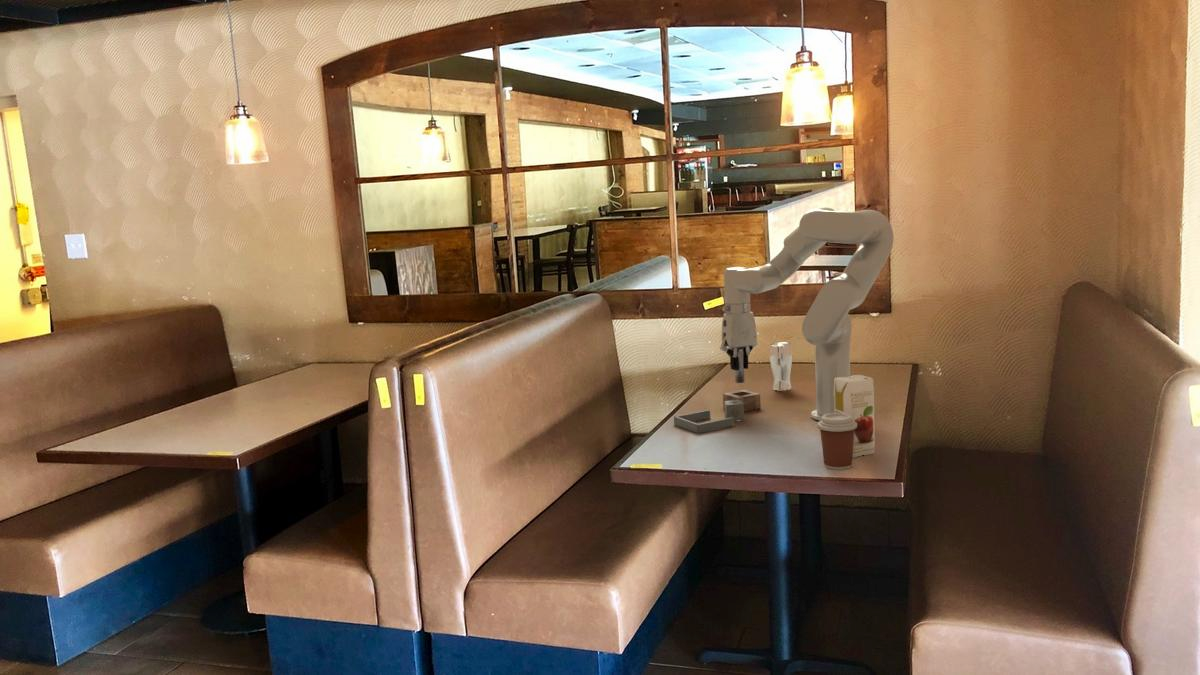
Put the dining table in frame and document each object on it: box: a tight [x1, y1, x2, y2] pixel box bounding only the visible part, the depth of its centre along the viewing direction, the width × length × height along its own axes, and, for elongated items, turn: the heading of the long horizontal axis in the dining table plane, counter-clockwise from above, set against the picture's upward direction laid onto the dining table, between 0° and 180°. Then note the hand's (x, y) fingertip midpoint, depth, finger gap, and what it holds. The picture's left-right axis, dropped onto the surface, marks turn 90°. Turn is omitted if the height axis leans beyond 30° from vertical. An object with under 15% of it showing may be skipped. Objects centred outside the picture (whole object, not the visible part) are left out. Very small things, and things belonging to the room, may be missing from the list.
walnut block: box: [722, 389, 762, 412], centre depth 278 cm, size 8×8×4 cm
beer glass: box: [769, 342, 793, 392], centre depth 298 cm, size 7×7×15 cm
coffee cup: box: [816, 413, 857, 471], centre depth 216 cm, size 9×9×12 cm
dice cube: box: [724, 400, 745, 422], centre depth 265 cm, size 5×5×5 cm
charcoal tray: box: [673, 409, 735, 434], centre depth 261 cm, size 12×12×2 cm
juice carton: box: [834, 374, 876, 459], centre depth 224 cm, size 8×9×19 cm
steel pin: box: [734, 347, 746, 384], centre depth 276 cm, size 3×3×13 cm
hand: (739, 368), depth 276 cm, fingers closed on steel pin, 2 cm apart
